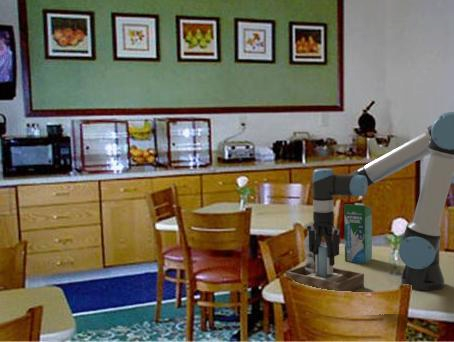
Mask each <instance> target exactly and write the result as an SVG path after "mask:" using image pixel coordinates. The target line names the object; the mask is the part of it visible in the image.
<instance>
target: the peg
mask: <svg viewBox="0 0 454 342" xmlns="http://www.w3.org/2000/svg"><path fill="white" fill-rule="evenodd" d="M328 256H329V255H328V250H327V245H321V246H319V277H322V278H328V277H330V274H329V275H328V274H327V257H328Z"/></svg>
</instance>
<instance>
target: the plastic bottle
mask: <svg viewBox="0 0 454 342" xmlns="http://www.w3.org/2000/svg"><path fill="white" fill-rule="evenodd" d="M315 235H316V230H315ZM315 239H316V237H315ZM303 244H304V251H305V264H304V265H305V271H304V273H305V275H309V274H312V273H315V272H316V269H315V262H314V254H313V253H312V252H310V251H309V232H308V231H307V235H306V237H305V238H304V240H303Z"/></svg>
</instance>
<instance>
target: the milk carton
mask: <svg viewBox="0 0 454 342" xmlns="http://www.w3.org/2000/svg"><path fill="white" fill-rule="evenodd" d="M343 205H344V206H343V207H344V210H343V211H344V262H348V261H350V262H351V263H357V264H366V263H367V262H369V261H370V260H372V258H373V233H372V232H373V228H372V227H373V223H372V222H373V216H372V215H373V214H372V213H373V211H372V210H373V207H372V206H368V205H365V203H361V202H355V203H354V204H343Z"/></svg>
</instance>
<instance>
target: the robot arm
mask: <svg viewBox="0 0 454 342" xmlns="http://www.w3.org/2000/svg"><path fill="white" fill-rule="evenodd" d="M428 155H429V159H428V164H427V167H426V171H425V174H424V179H423V182H422V185H421V189H420V193H419V197H418V201H417V204H416V207H415V211H414V214H413V218H412V221H410V222H408V223H407V224H406V226H405V230H404V232H403V233H404V234H403V237H402V241H401V242H400V244H399V246H398V255H399V258H400V260H401V261H402V263H403V264H405V265H404V268H403V272H402V274H401V277H400V280H401V281H400V283H401V285H402V284H409V285H412V290H419V291H435V290H440V289H442V288H444V287H445V278H444V275H443V272H442V269H441V267H440V266H441V265H440V240H441V236H442V232H441V231H440V226H439V225H440V222H441V219H442V217H443V212H444V209H445V205H446V202H447V198H448V195H449V191H450V187H451V184H452V180H453V177H454V111H453V112H452V111H448V112H445V113H442V114H441V115H439V116H437V118H436V119H435V120H434V122H433V123H432V125H430V126H428V127H426V128H425V132H423V133H421V134H420V135H418V136H415V137H414V138H413V139H411V140H409V141H407V142H405V143H403V144H402V145H399V146H398V147H395V148H394V149H392V150H390V151H388V152H387V153H386V154H383V155H382V156H380V157H378V158H377V159H375V160H373V161H371V162H369V163H367V164H366V165H363V166H362V167H360V168H358V169H356V170H353V172H351V173H349V174H335V173H334V170H333V169H332V168H316V169H314V170H313V172H312V181H311V182H312V183H311V184H312V210H313V212H312V220H313V224H311V225H308V226H307V227H306V228H307V232H309V251H310V252H312V253H313V254H314V262H315V269H316V272H319V246H322V240H323V238H324V240H325V243H326V245H325V246H327V250H328V255H329V256H328V257H327V274H328V275H329V274H332V273H333V268H334V265H335V257H337V256H339V255H340V234H341V232H342V231H341V229H340V228H336V227H335V226H334V221H335V215H334V214H335V213H334V211H333V210H334V208H335V205H334V196H343V197H344V196H348V197H364V196H366V195H367V192H368V188H369V187H371V186H372V185H373V184H375V183H377V182H379V181H381V180H384V179H385V178H387V177H389V176H390V175H393V174H394V173H396V172H398V171H400V170H402V169H403V168H406V167H407V166H409V165H411V164H413V163H415V162H416V161H420V159H422V158H425V157H426V156H428ZM315 230H316V235H315ZM315 237H316V239H315Z"/></svg>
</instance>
